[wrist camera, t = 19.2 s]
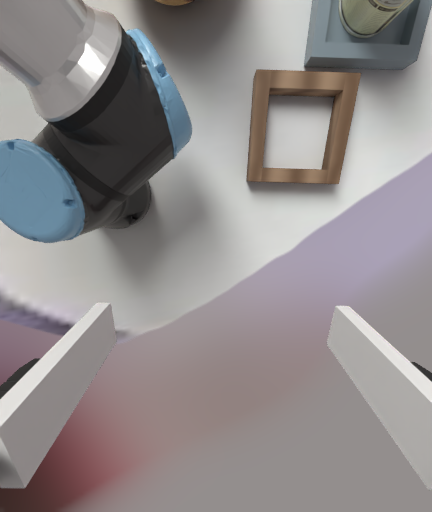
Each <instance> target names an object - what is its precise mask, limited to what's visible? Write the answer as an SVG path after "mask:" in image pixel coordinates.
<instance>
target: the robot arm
mask: <svg viewBox="0 0 432 512" xmlns="http://www.w3.org/2000/svg"><path fill="white" fill-rule="evenodd" d="M0 65H1V66H2V67H3V68H4V69H6V70H7V71H8V72H9V73H11V74H12V75H13V76H15V77H16V78H17V79H18V80H20V81H21V82H22V83H23V84H25V86H26V87H27V89H28V91H29V93H30V96H31V99H32V102H33V105H34V107H35V110H36V112H37V114H38V115H39V116H41V117H42V118H43V119H44V120H46V121H47V122H48V124H47V126H46V127H45V128H44V129H43V130H42V131H41V132H40V133H39V134H38V135H37V137H36V138H35V139H34V140H33V141H32V142H29V141H26V140H22V139H15V140H5V141H0V220H1V221H2V222H3V223H4V224H5V225H6V226H8V227H9V228H10V229H11V230H13V231H14V232H16V233H17V234H19V235H21V236H23V237H25V238H27V239H30V240H33V241H39V242H44V243H53V242H59V241H65V240H71V239H73V238H75V237H77V236H79V235H81V234H84V233H87V232H90V231H92V230H95V229H98V228H101V227H107V228H112V229H119V228H125V227H129V226H131V225H133V224H135V223H137V222H138V221H140V220H141V219H142V218H143V217H144V215H145V214H146V212H147V210H148V208H149V205H150V200H151V192H150V186H149V183H148V180H149V179H150V178H151V177H152V176H153V175H154V174H156V173H157V172H158V171H159V170H160V169H161V168H162V167H163V166H165V165H166V164H167V163H168V162H169V161H170V160H171V159H174V158H175V157H176V155H177V153H178V152H179V151H180V150H181V149H182V148H183V147H184V146H185V145H186V144H187V143H188V142H189V140H190V138H191V135H192V125H191V121H190V117H189V115H188V112H187V109H186V107H185V105H184V102H183V100H182V98H181V96H180V94H179V92H178V90H177V87H176V85H175V84H174V82H173V80H172V78H171V76H170V75H169V74H168V73H167V72H166V68H165V66H164V64H163V62H162V60H161V58H160V56H159V55H158V53H157V51H156V50H155V48H154V47H153V45H152V44H151V42H150V41H149V39H148V38H147V37H146V36H145V35H144V33H143V32H142V31H141V30H139V29H137V28H136V29H133V30H128V31H127V32H125V31H124V29H123V28H122V26H121V25H120V23H119V22H118V20H117V19H116V17H115V16H114V15H113V14H111V13H109V12H107V11H104V10H100V9H97V8H94V7H90V6H88V5H86V4H85V3H84V2H83V1H82V0H0ZM116 342H117V339H116V333H115V327H114V321H113V315H112V309H111V303H96V304H95V305H94V306H93V307H92V308H91V309H90V310H89V311H88V312H87V313H86V314H85V315H84V316H83V317H82V318H81V319H80V320H79V321H78V322H77V323H76V324H75V325H74V326H73V327H72V328H71V329H70V330H69V331H68V332H67V333H66V334H65V335H64V336H63V337H62V338H61V339H60V341H58V342H57V343H56V344H55V345H54V346H53V347H52V348H51V349H50V350H49V351H48V352H47V353H46V354H45V355H44V356H43V357H42V358H41V359H33V360H32V361H30V362H28V363H27V364H25V365H24V366H23V367H21V368H19V369H18V370H17V371H16V372H15V373H14V374H13V375H12V376H11V377H10V378H9V379H8V380H7V382H5V383H3V384H2V385H1V386H0V487H1V488H25V487H26V485H27V484H28V482H29V481H30V479H31V477H32V476H33V474H34V473H35V471H36V470H37V468H38V466H39V465H40V463H41V462H42V460H43V459H44V457H45V455H46V454H47V452H48V450H49V449H50V447H51V446H52V444H53V443H54V441H55V439H56V438H57V436H58V435H59V433H60V431H61V430H62V428H63V426H64V425H65V423H66V422H67V420H68V419H69V417H70V415H71V414H72V412H73V411H74V409H75V407H76V406H77V404H78V403H79V401H80V399H81V398H82V396H83V395H84V393H85V392H86V390H87V388H88V387H89V385H90V383H91V382H92V380H93V379H94V377H95V376H96V374H97V372H98V371H99V369H100V368H101V366H102V364H103V363H104V361H105V360H106V358H107V356H108V355H109V353H110V352H111V350H112V348H113V347H114V345H115V344H116ZM327 345H328V347H329V348H330V350H331V351H332V352H333V354H334V355H335V357H336V358H337V360H338V361H339V362H340V364H341V365H342V367H343V368H344V370H345V371H346V372H347V374H348V375H349V377H350V378H351V380H352V381H353V382H354V384H355V385H356V387H357V388H358V390H359V391H360V392H361V394H362V395H363V397H364V398H365V400H366V401H367V403H368V404H369V405H370V407H371V408H372V410H373V411H374V413H375V414H376V415H377V417H378V418H379V420H380V421H381V422H382V424H383V425H384V427H385V428H386V430H387V431H388V433H389V434H390V435H391V437H392V438H393V440H394V441H395V443H396V444H397V446H398V447H399V448H400V450H401V451H402V453H403V454H404V455H405V457H406V458H407V460H408V461H409V463H410V464H411V466H412V467H413V468H414V470H415V471H416V473H417V474H418V476H419V477H420V478H421V480H422V481H423V483H424V484H425V486H426V487H427V488H428V490H429V491H432V373H431V372H430V371H428V370H426V369H425V368H423V367H422V366H420V365H418V364H417V363H415V362H409V361H408V360H407V359H406V358H405V357H404V356H403V355H402V354H400V353H399V352H398V351H397V350H396V349H395V348H394V347H393V346H392V345H391V344H390V343H388V342H387V341H386V340H385V339H384V338H383V337H382V336H381V335H380V334H379V333H377V332H376V331H375V330H374V329H373V328H372V327H371V326H370V325H369V324H368V323H367V322H365V321H364V320H363V319H362V318H361V317H360V316H359V315H358V314H357V313H356V312H355V311H353V310H352V309H351V308H350V307H349V306H336V307H335V311H334V315H333V319H332V323H331V328H330V332H329V336H328V340H327Z"/></svg>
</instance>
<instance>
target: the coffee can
mask: <svg viewBox="0 0 432 512" xmlns="http://www.w3.org/2000/svg"><path fill="white" fill-rule="evenodd" d="M412 1H413V0H339V15H340V20H341V23H342V25H343V26H344V28H345V29H346V31H347V32H348V33H350V34H351V35H353V36H355V37H357V38H369V37H372V36H374V35H377V34H378V33H380V32H381V31H382V30H384V29H385V28H386V27H387V26H388V25H389V23H390V22H391V21H392V20H393V19H394V18H396V17H397V16H398V15H399V14H400V13H401V12H402V11H403V10H404V9H405V8H406V7H407V6H408V5H409V4H410V3H411V2H412Z"/></svg>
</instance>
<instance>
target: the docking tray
mask: <svg viewBox="0 0 432 512" xmlns="http://www.w3.org/2000/svg"><path fill="white" fill-rule="evenodd" d="M431 6H432V0H413V1H412V2H411V3H410V4H409V5H408V6H407V7H406V8H405V9H404V10H403V11H402V12H401V13H400V14H399V15H398V16H397V17H396V18H394V19H393V20H392V21H391V22H390V23H389V25H388V26H387V27H386V28H385V29H384V30H382V31H381V32H380V33H378V34H377V35H374V36H372V37H369V38H357V37H355V36H353V35H351V34H350V33H348V32H347V31H346V29H345V28H344V26H343V25H342V23H341V20H340V15H339V0H313V1H312V8H311V16H310V24H309V31H308V39H307V47H306V54H305V62H304V66H306V67H336V68H365V69H394V70H402V69H404V68H406V67H407V66H409V65H410V64H412V63H414V62H415V61H417V58H418V55H419V51H420V47H421V43H422V40H423V36H424V32H425V28H426V25H427V21H428V17H429V13H430V10H431Z"/></svg>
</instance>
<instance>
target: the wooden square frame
mask: <svg viewBox="0 0 432 512" xmlns="http://www.w3.org/2000/svg"><path fill="white" fill-rule="evenodd" d="M360 76H361V73H345V72H316V71H286V70H256V73H255V76H254V81H253V95H252V109H251V124H250V138H249V152H248V166H247V181H250V182H283V183H317V184H339V180H340V175H341V170H342V165H343V160H344V155H345V150H346V145H347V140H348V135H349V130H350V126H351V121H352V116H353V111H354V106H355V101H356V96H357V91H358V86H359V81H360ZM269 95H290V96H321V97H334V101H333V107H332V113H331V119H330V124H329V130H328V136H327V142H326V147H325V153H324V159H323V165H322V170H318V169H285V168H262V166H263V155H264V144H265V133H266V122H267V111H268V100H269Z"/></svg>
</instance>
